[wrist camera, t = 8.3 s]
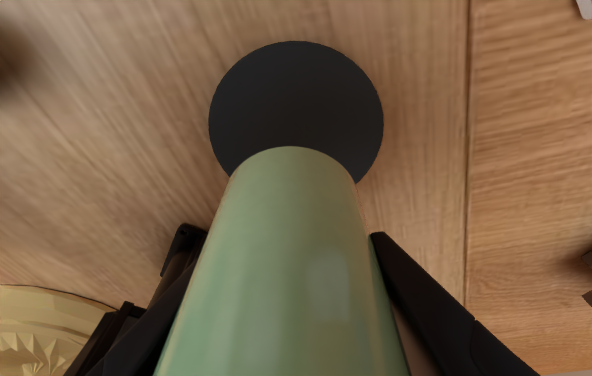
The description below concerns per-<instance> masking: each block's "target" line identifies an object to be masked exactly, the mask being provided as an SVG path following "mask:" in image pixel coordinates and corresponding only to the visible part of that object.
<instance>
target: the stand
mask: <svg viewBox="0 0 592 376" xmlns="http://www.w3.org/2000/svg"><path fill="white" fill-rule="evenodd" d="M581 259H582V260H583V261H584V262H585V263H587V264H588V265H589V266H590V267H591V268H592V251H590V252H589V253H587V254H585V255H584V256H582V257H581ZM582 297H583V298H584V299H585V300H586V302H587V303H588V304H589V305H590V306H591V307H592V290H591V291H589V292H587V293H586V294H584V295H582Z"/></svg>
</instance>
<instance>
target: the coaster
mask: <svg viewBox="0 0 592 376" xmlns="http://www.w3.org/2000/svg"><path fill="white" fill-rule="evenodd" d="M383 126H384V124H383V112H382V107H381V103H380V100H379V97H378V94H377V92H376V90H375V88H374V86H373V84H372V83H371V81H370V80H369V78H368V77H367V76H366V74H365V73H364V72H363V70H362V69H360V68H359V67H358V66H357V65H356V64H355V63H354V62H353V61H352V60H350V59H349V58H348V57H346V56H345V55H344V54H342V53H340V52H338V51H336V50H334V49H332V48H330V47H327V46H324V45H321V44H317V43H312V42H306V41H287V42H278V43H274V44H271V45H267V46H264V47H262V48H260V49H257V50H255V51H253V52H251V53H250V54H248V55H247V56H245V57H243V58H242V59H241V60H240V61H238V62H237V63H236V64H235V65H234V66H233V67H232V68H231V69H230V70H229V71H228V72H227V74H226V75H225V76H224V77H223V79H222V80H221V82H220V84H219V85H218V87H217V89H216V91H215V94H214V96H213V99H212V102H211V106H210V112H209V135H210V141H211V144H212V148H213V151H214V153H215V155H216V157H217V160H218V161H219V163H220V165H221V166H222V168H223V169H224V171H225V172H226V173H227V174H228V176H229V177H231V175H232V174H233V172H234V171H235V170H236V169H237V167H238V166H239V165H241V164H242V163H243V162H244V161H245V160H247V159H248V158H250V157H251V156H253V155H255V154H257V153H259V152H262V151H265V150H268V149H272V148H276V147H285V146H296V147H304V148H309V149H313V150H316V151H319V152H321V153H324V154H326V155H328V156H330V157H331V158H333V159H334V160H336V161H337V162H338V163H340V164H341V165H342V166H343V167H344V168H345V169H346V170H347V171H348V173H349V174H350V176H351V177H352V179H353V181H354V183H355V184H356V183H358V182H359V181H360V180H361V179H362V178H363V176H364V175H365V174H366V173H367V172H368V170H369V169H370V167H371V166H372V164H373V162H374V160H375V158H376V157H377V154H378V151H379V149H380V146H381V141H382V137H383Z"/></svg>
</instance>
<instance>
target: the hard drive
mask: <svg viewBox="0 0 592 376" xmlns="http://www.w3.org/2000/svg"><path fill="white" fill-rule="evenodd" d="M576 1H577V4H578V7H579V9H580V12H581V15H582V17H583V18H584V19H590V20H592V0H576Z"/></svg>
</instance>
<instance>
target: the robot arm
mask: <svg viewBox="0 0 592 376" xmlns="http://www.w3.org/2000/svg"><path fill="white" fill-rule="evenodd" d="M185 231H186V232H185ZM207 235H208V232H206V231H203V230H201V229H198V228H195V227H192V226H190V225H186V224H182V225H180V226H179V228H178V230H177V232H176V234H175V237H174V240H173V242H172V245H171V247H170V250H169V253H168V255H167V258H166V260H165V263H164V266H163V268H162V271H161V273H160V276H161V277H162V279H161V281H160V283H159V285H158V287H157V289H156V291H155V293H154V296H153V298H152V300H151V302H150V304H149V306H148V308H147V309H144V308H141V307H138V306H135V305H134V303H131V302H128V301H125V302H124V303H123V305H122V307H121V308H120V310H119V311H118V310H116V311H113V312H105V314H104V315H103V317H102V319H101V320H100V322H99V324H98V325H97V327H96V328H95V330H94V332H93V333H92V335H91V336H90V338H89V339H88V341H87V342H86V344H85V345H84V347H83V348H82V350H81V351H80V352H79V354H78V355H77V357H76V358H75V359H74V361H73V362H72V363H71V365H70V366H69V368H68V369H67V370H66V372H65V373H64V375H63V376H152V375H153V373H154V370H155V368H156V365H157V363H158V360H159V358H160V355H161V352H162V350H163V347H164V345H165V342H166V340H167V337H168V334H169V332H170V329H171V327H172V324H173V322H174V319H175V317H176V314H177V311H178V309H179V306H180V304H181V301H182V299H183V296H184V293H185V291H186V288H187V286H188V283H189V281H190V278H191V276H192V273H193V270H194V268H195V265H196V263H197V260H198V258H199V255H200V253H201V250H202V247H203V245H204V242H205V240H206V237H207ZM370 236H371V239H372V242H373V246H374V249H375V252H376V256H377V259H378V262H379V266H380V269H381V272H382V276H383V279H384V282H385V286H386V289H387V292H388V296H389V299H390V302H391V306H392V309H393V312H394V316H395V319H396V322H397V326H398V329H399V332H400V336H401V339H402V342H403V346H404V349H405V352H406V356H407V359H408V362H409V366H410V369H411V372H412V376H540V375H539V374H538V373H537V372H536V371H534V370H533V369H532V368H531V367H529V366H528V365H527V364H526V363H525V362H523V361H522V360H521V359H520V358H519V357H517V356H516V355H515V354H514V353H513V352H512V351H510V350H509V349H508V348H507V347H506V346H505V345H504V344H503V343H502V342H501V341H499V340H498V339H497V338H496V337H495V336H494V335H493V334H492V333H491V332H490V331H489V330H487V329H486V328H485V327H484V326H483V325H482V324H481V323H480V322H479V321H478V320H475V318H474V316H473V315H472V314H470V313H469V312H468V311H467V310H466V309H465V308H464V307H463V306H462V305H461V304H460V303H459V302H458V301H457V300H456V299H455V298H454V297H453V296H451V295H450V294H449V293H448V292H447V291H446V290H445V289H444V288H443V287H442V286H441V285H440V284H439V283H438V282H437V281H436V280H435V279H433V278H432V277H431V276H430V275H429V274H428V273H427V272H426V271H425V270H424V269H423V268H422V267H421V266H420V265H419V264H418V263H417V262H416V261H414V260H413V259H412V258H411V257H410V256H409V255H408V254H407V253H406V252H405V251H404V250H403V249H402V248H401V247H400V246H399V245H398V244H397V243H395V242H394V241H393V240H392V239H391V238H390V237H389V236H388V235H387V234H386V233H385V232H383V231H381V232H374V233H371V234H370Z"/></svg>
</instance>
